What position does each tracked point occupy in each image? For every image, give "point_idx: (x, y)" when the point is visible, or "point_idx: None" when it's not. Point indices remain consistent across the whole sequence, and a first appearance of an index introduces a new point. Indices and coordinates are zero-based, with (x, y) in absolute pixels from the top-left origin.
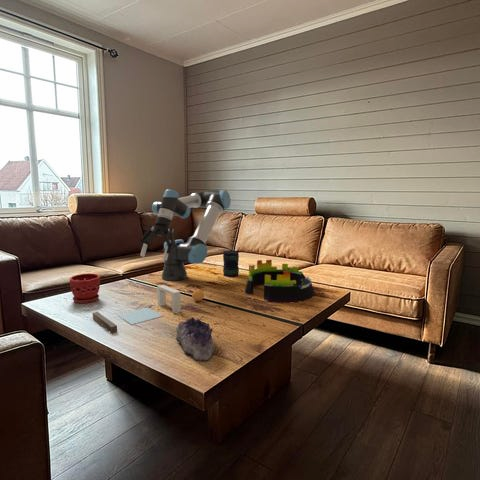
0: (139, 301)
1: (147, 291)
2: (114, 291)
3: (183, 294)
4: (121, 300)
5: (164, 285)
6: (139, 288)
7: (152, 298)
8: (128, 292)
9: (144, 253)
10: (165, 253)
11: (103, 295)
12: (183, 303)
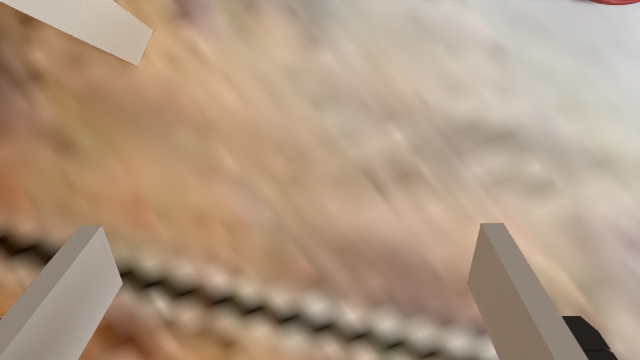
0: (299, 45)
1: (381, 230)
2: (572, 149)
3: (135, 266)
4: (411, 19)
5: (46, 18)
6: (468, 263)
7: (263, 124)
8: (477, 166)
9: (486, 306)
10: (30, 289)
11: (579, 56)
12: (32, 116)
